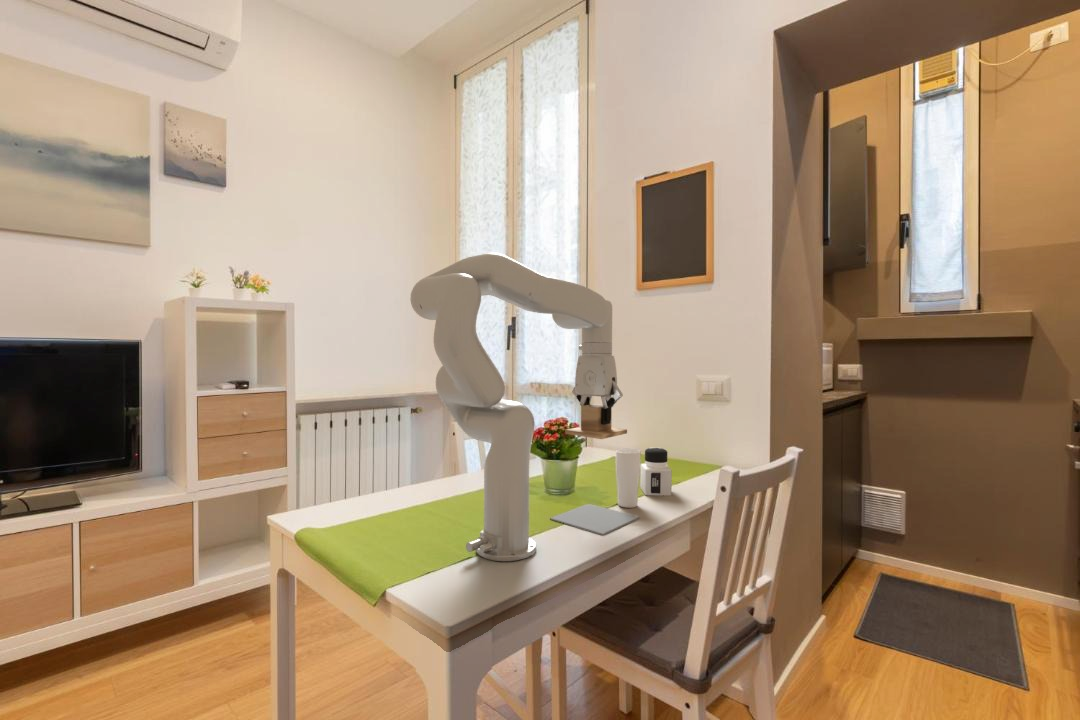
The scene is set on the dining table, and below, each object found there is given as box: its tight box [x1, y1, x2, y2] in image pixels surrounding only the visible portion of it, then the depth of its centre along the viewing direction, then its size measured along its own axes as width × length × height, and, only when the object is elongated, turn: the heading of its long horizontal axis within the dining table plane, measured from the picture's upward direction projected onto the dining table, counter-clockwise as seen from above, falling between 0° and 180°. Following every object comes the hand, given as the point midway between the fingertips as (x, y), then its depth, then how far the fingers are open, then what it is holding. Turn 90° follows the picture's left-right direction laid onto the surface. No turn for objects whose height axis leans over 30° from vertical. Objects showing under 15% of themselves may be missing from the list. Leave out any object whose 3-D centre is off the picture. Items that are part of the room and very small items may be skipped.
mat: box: [549, 503, 641, 536], centre depth 130 cm, size 16×16×1 cm
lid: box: [564, 403, 628, 440], centre depth 129 cm, size 11×11×7 cm
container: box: [639, 447, 673, 497], centre depth 154 cm, size 8×8×13 cm
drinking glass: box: [614, 447, 642, 509], centre depth 140 cm, size 7×7×15 cm
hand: (596, 422), depth 129 cm, fingers closed on lid, 5 cm apart
